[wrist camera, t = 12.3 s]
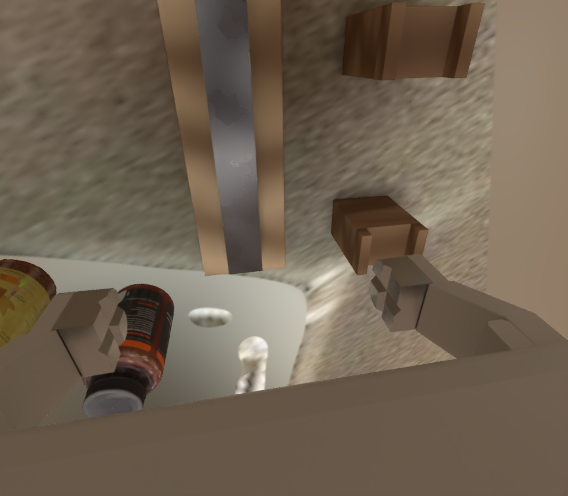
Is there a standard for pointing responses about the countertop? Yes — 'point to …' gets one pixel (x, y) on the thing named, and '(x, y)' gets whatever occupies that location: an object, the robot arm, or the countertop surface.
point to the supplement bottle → (134, 354)
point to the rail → (232, 126)
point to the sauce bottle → (22, 297)
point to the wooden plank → (197, 132)
